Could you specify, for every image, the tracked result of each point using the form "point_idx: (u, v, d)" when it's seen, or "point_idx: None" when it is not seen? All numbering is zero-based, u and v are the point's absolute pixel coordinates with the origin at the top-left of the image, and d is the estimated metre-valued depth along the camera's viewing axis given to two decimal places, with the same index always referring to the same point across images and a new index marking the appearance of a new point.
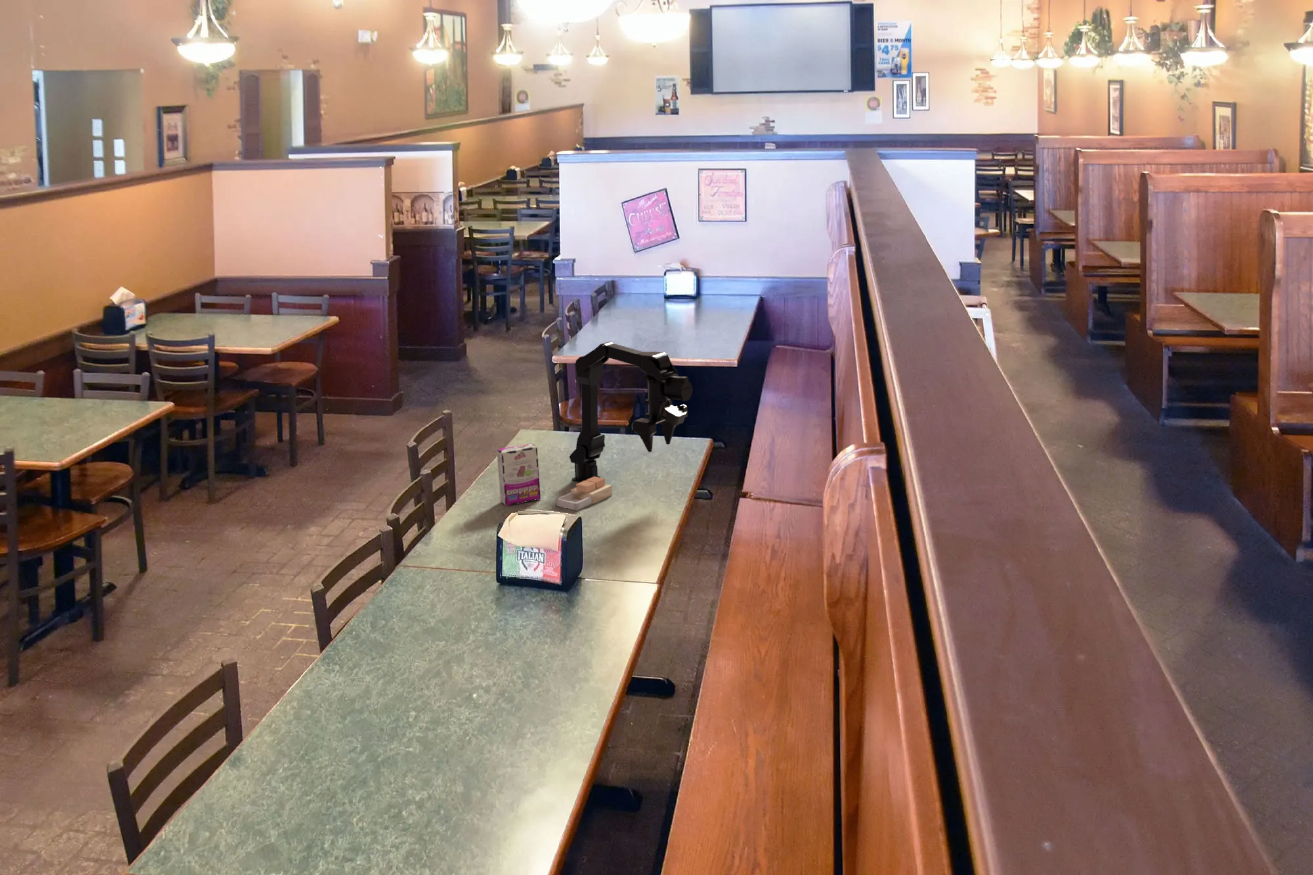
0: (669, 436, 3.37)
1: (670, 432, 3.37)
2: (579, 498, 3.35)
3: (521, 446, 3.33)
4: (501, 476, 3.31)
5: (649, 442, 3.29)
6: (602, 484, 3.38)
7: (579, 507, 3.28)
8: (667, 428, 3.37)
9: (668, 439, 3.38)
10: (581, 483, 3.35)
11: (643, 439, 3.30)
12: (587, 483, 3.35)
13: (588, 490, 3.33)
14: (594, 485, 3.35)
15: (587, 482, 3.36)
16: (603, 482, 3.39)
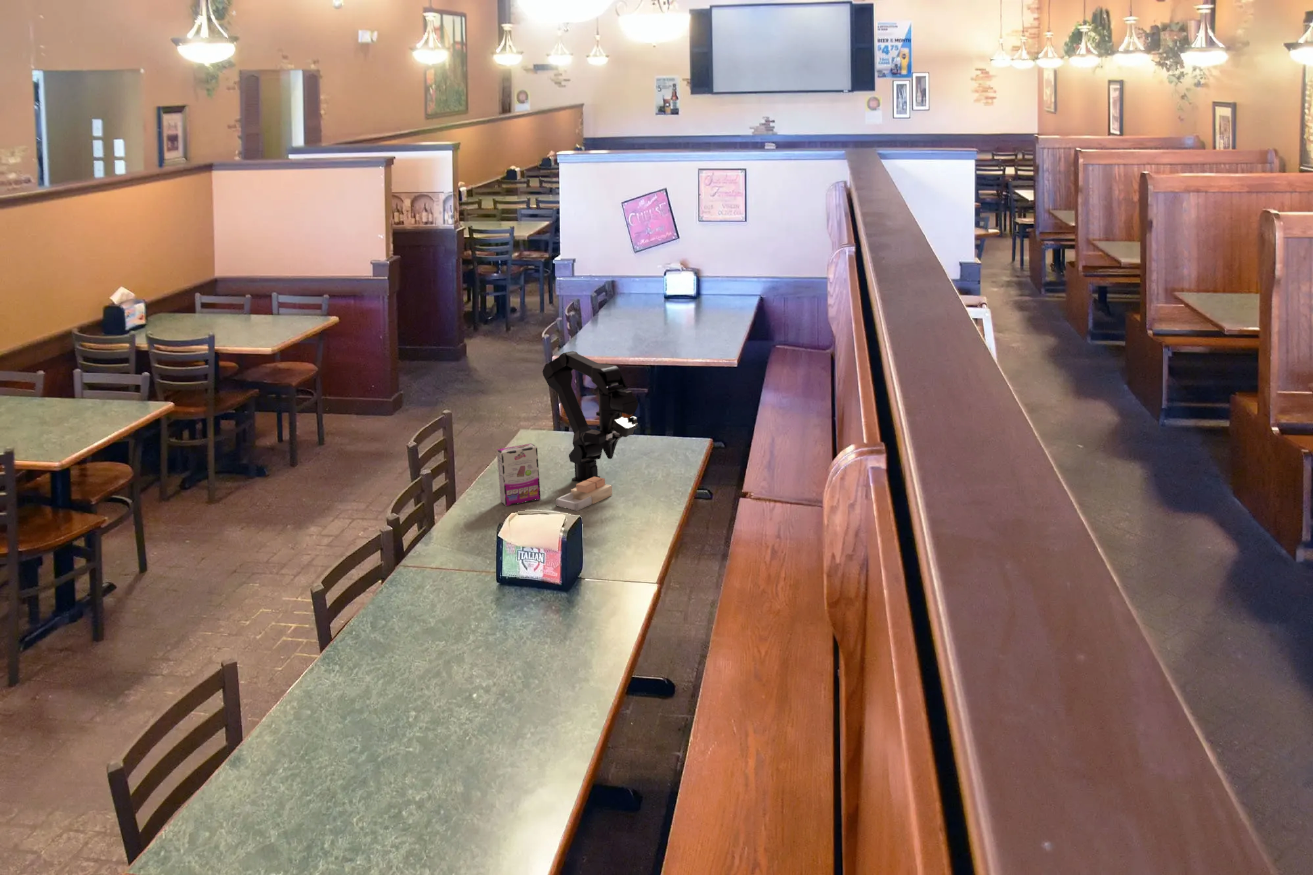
0: None
1: (612, 446, 3.42)
2: (579, 498, 3.35)
3: (521, 446, 3.33)
4: (501, 476, 3.31)
5: (609, 449, 3.41)
6: (602, 484, 3.38)
7: (579, 507, 3.28)
8: None
9: None
10: (581, 483, 3.35)
11: (603, 446, 3.42)
12: (587, 483, 3.35)
13: (588, 490, 3.33)
14: (594, 485, 3.35)
15: (587, 482, 3.36)
16: (603, 482, 3.39)
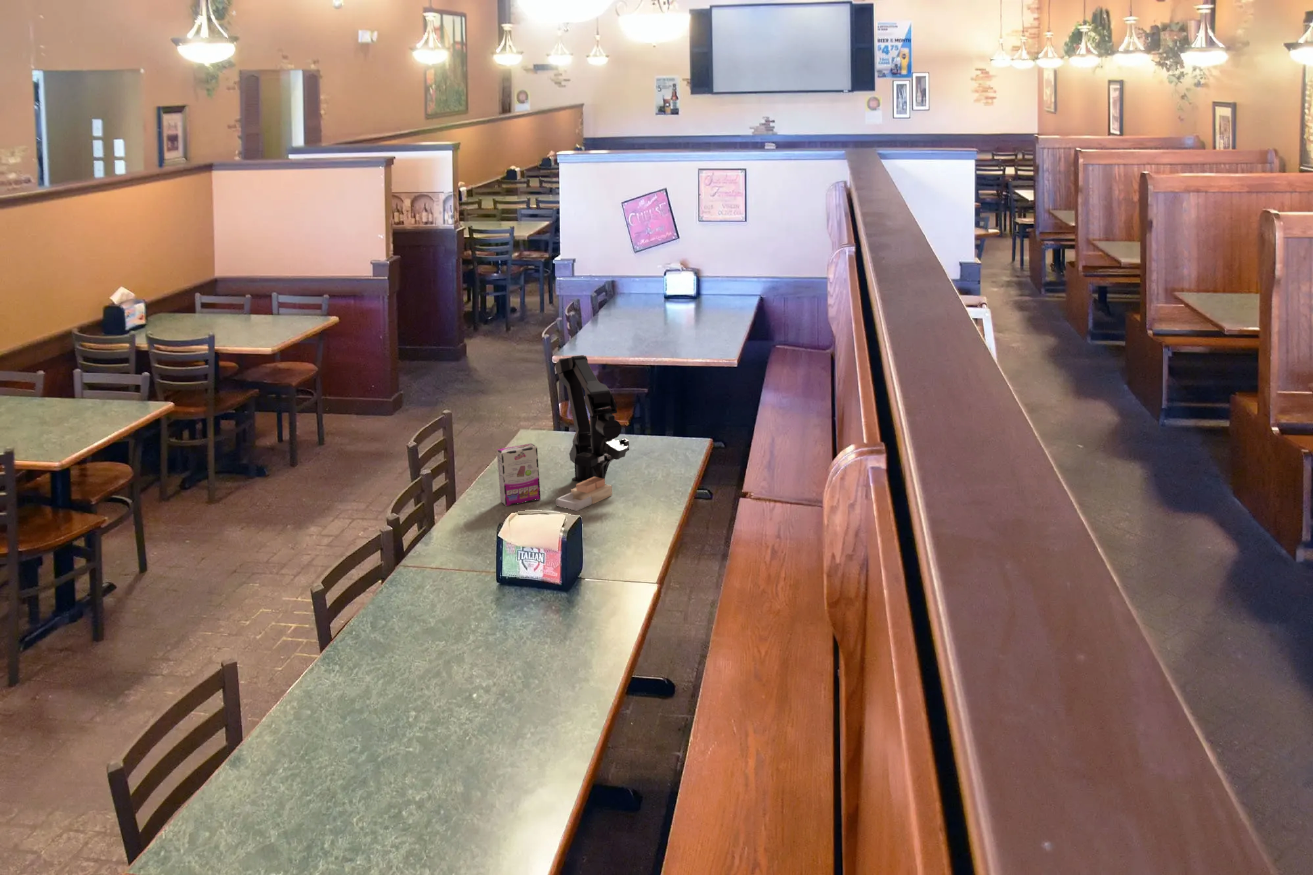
0: None
1: (604, 469, 3.40)
2: (579, 498, 3.35)
3: (521, 446, 3.33)
4: (501, 476, 3.31)
5: (600, 472, 3.39)
6: (602, 484, 3.38)
7: (579, 507, 3.28)
8: None
9: None
10: (581, 483, 3.35)
11: (595, 469, 3.40)
12: (587, 483, 3.35)
13: (588, 490, 3.33)
14: (594, 485, 3.35)
15: (587, 482, 3.36)
16: (603, 482, 3.39)
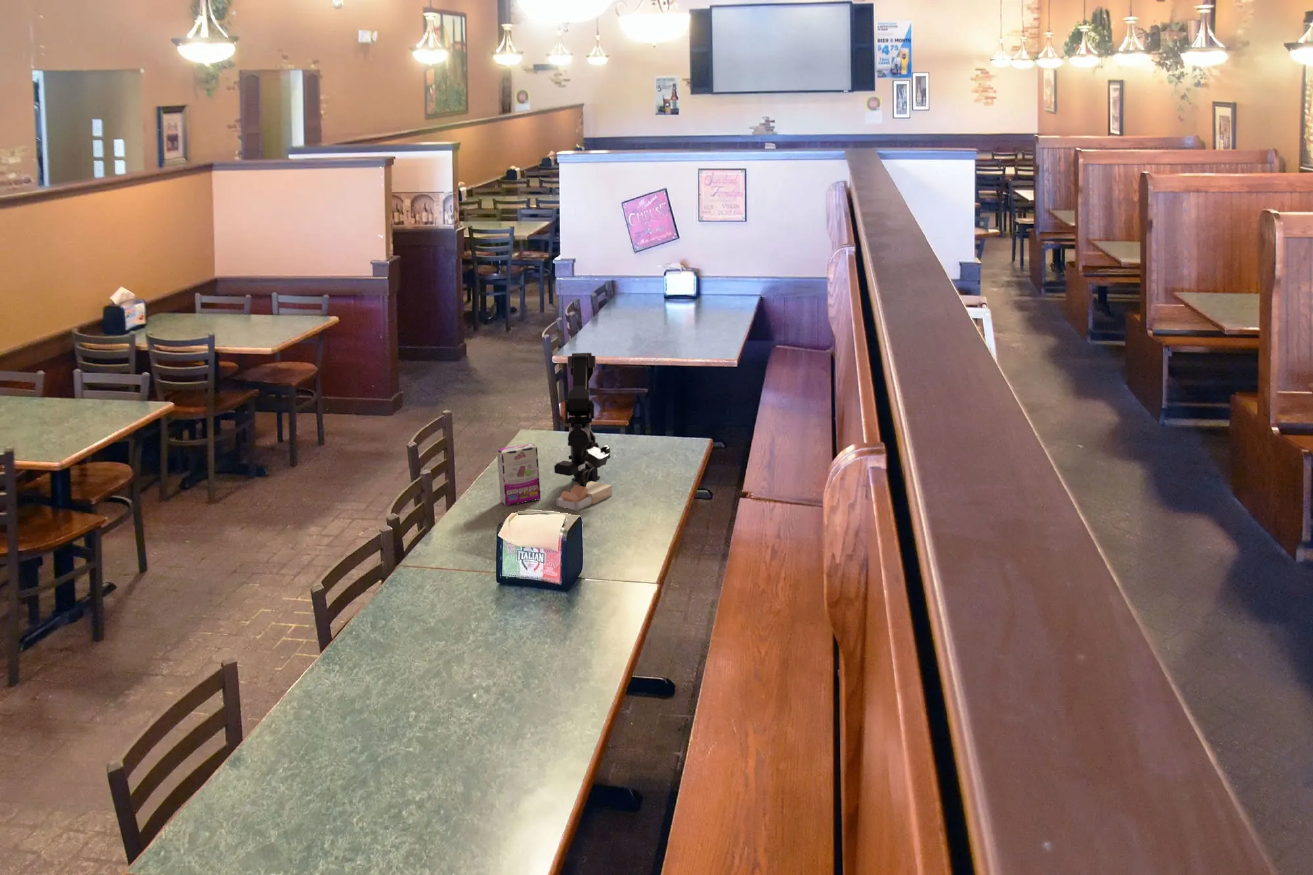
0: None
1: (585, 477, 3.33)
2: None
3: (521, 446, 3.33)
4: (501, 476, 3.31)
5: (582, 480, 3.32)
6: (585, 492, 3.32)
7: (579, 507, 3.28)
8: None
9: None
10: None
11: (576, 477, 3.33)
12: None
13: (578, 500, 3.30)
14: (573, 497, 3.28)
15: (567, 499, 3.29)
16: (585, 490, 3.32)
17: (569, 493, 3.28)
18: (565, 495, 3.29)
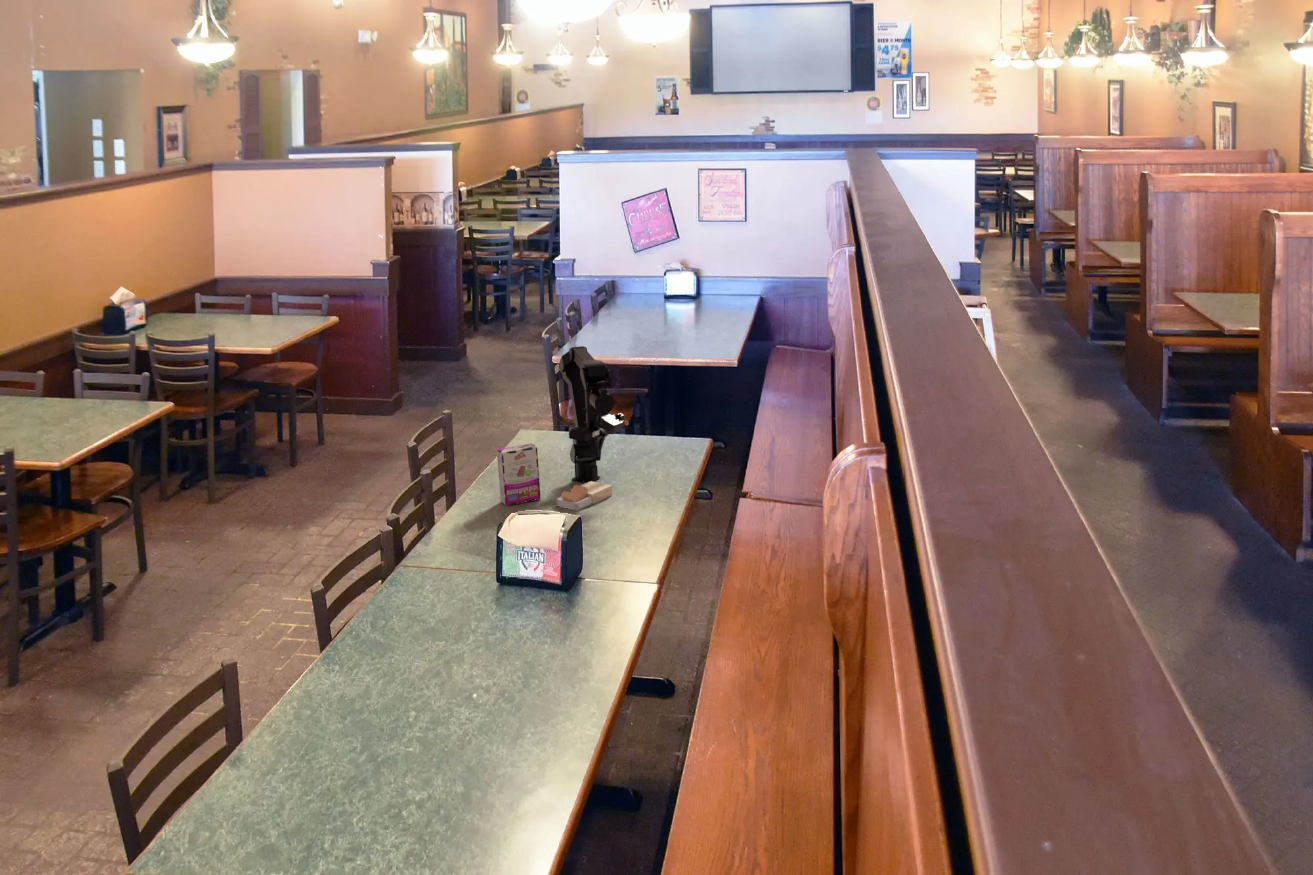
0: (598, 448, 3.37)
1: (599, 444, 3.36)
2: None
3: (521, 446, 3.33)
4: (501, 476, 3.31)
5: (596, 446, 3.35)
6: (585, 492, 3.32)
7: (579, 507, 3.28)
8: None
9: None
10: None
11: (590, 443, 3.36)
12: None
13: (578, 500, 3.30)
14: (573, 497, 3.28)
15: (567, 499, 3.29)
16: (585, 490, 3.32)
17: (569, 493, 3.28)
18: (565, 495, 3.29)
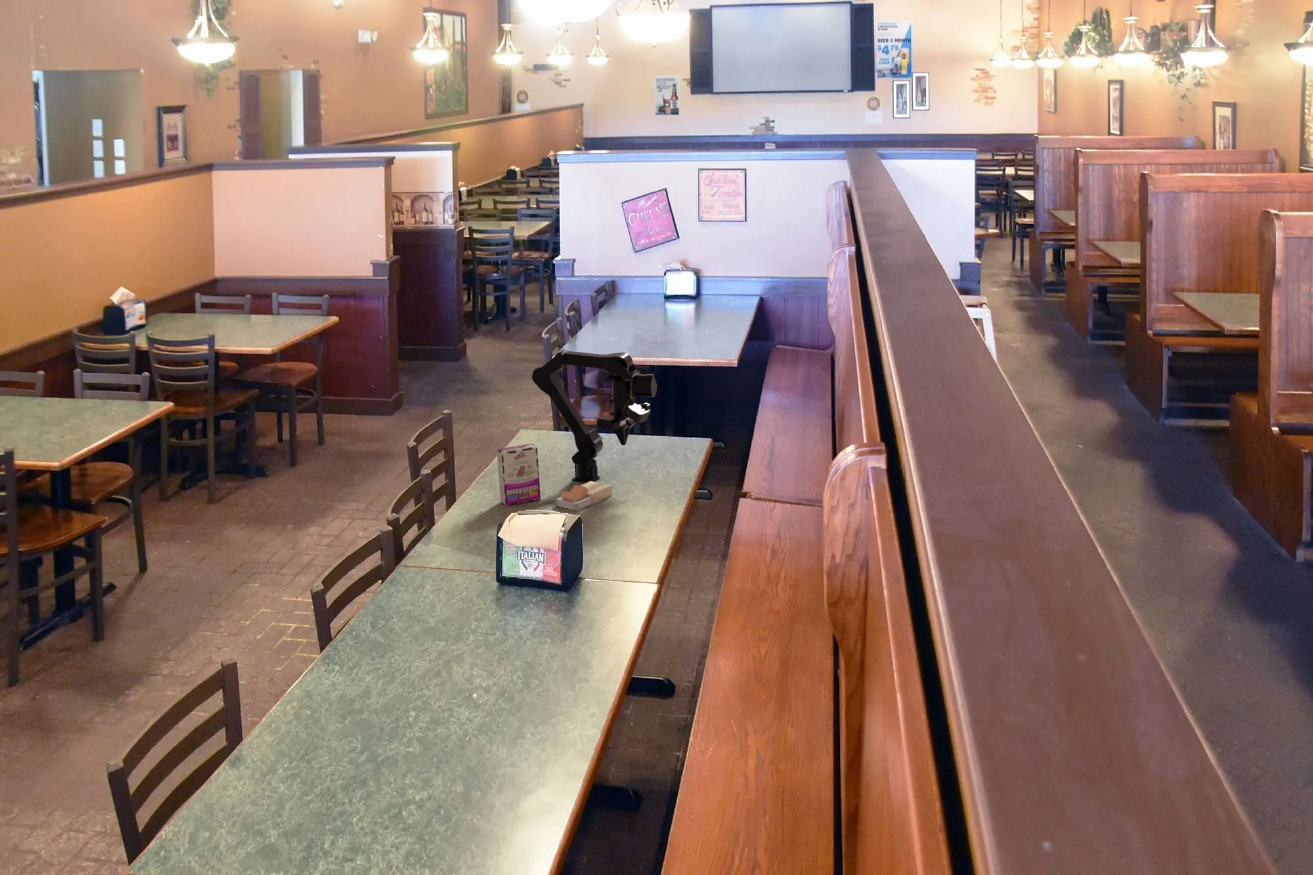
0: None
1: (626, 433, 3.46)
2: None
3: (521, 446, 3.33)
4: (501, 476, 3.31)
5: (622, 436, 3.45)
6: (585, 492, 3.32)
7: (579, 507, 3.28)
8: None
9: None
10: None
11: (616, 433, 3.46)
12: None
13: (578, 500, 3.30)
14: (573, 497, 3.28)
15: (567, 499, 3.29)
16: (585, 490, 3.32)
17: (569, 493, 3.28)
18: (565, 495, 3.29)
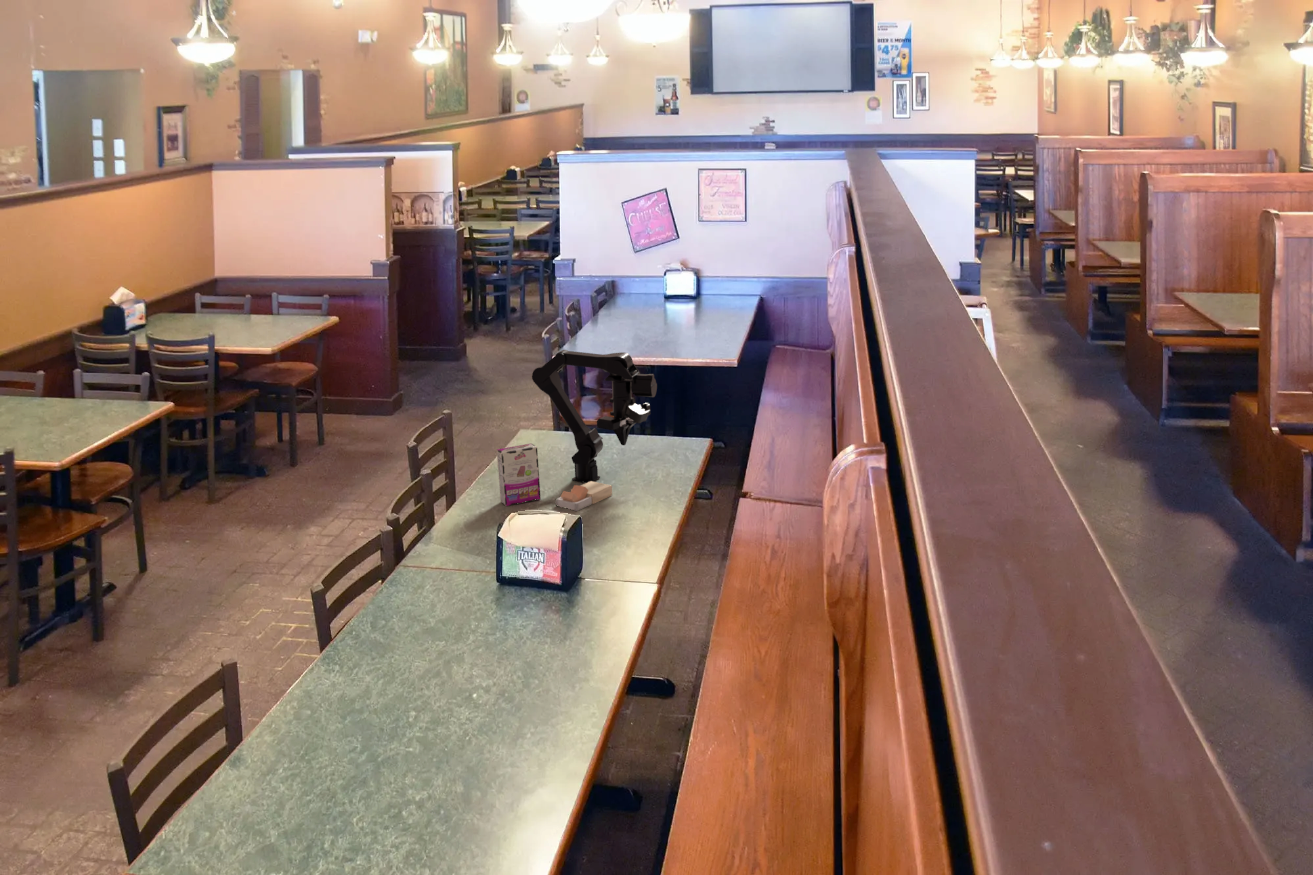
0: None
1: (626, 433, 3.46)
2: None
3: (521, 446, 3.33)
4: (501, 476, 3.31)
5: (622, 436, 3.45)
6: (585, 492, 3.32)
7: (579, 507, 3.28)
8: None
9: None
10: None
11: (616, 433, 3.46)
12: None
13: (578, 500, 3.30)
14: (573, 497, 3.28)
15: (567, 499, 3.29)
16: (585, 490, 3.32)
17: (569, 493, 3.28)
18: (565, 495, 3.29)
